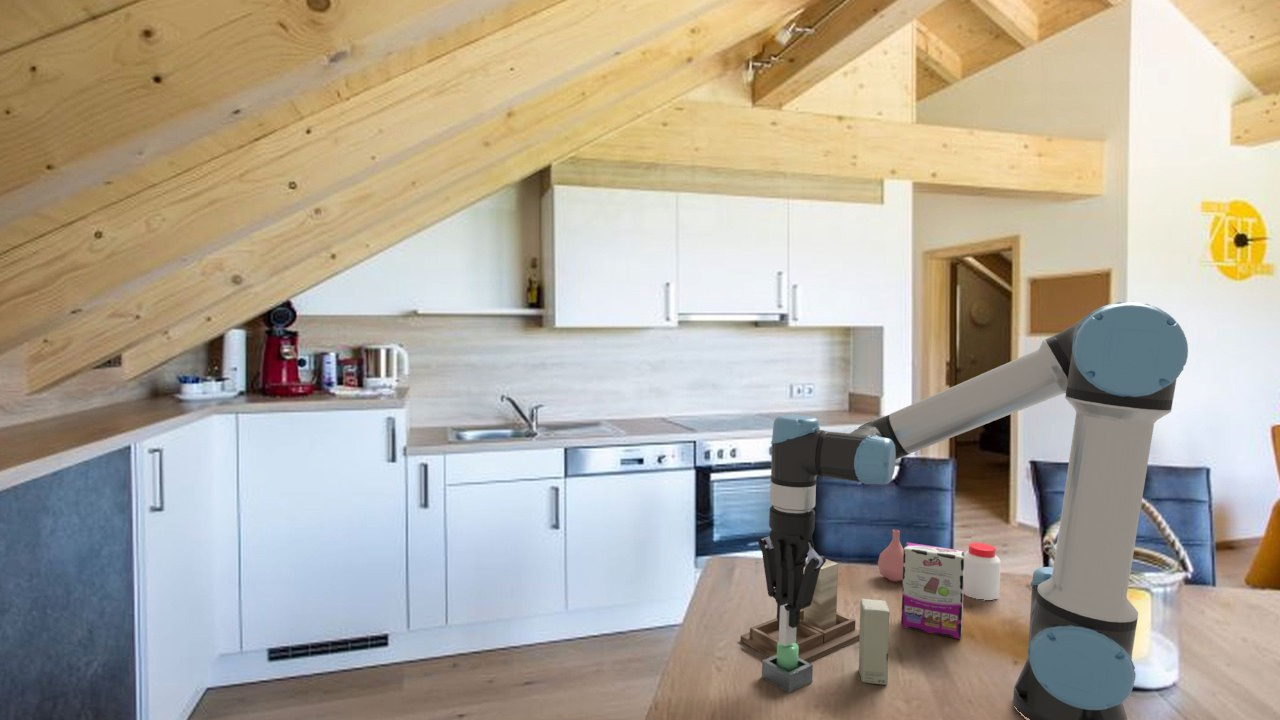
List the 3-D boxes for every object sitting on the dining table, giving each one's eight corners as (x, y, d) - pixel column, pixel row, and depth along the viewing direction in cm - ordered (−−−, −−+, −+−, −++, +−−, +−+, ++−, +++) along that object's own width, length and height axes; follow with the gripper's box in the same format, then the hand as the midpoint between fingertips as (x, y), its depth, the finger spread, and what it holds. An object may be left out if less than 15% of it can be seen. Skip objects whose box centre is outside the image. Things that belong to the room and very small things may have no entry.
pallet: (864, 637, 131) (867, 567, 130) (793, 669, 119) (796, 592, 118) (810, 613, 142) (813, 548, 141) (740, 640, 129) (742, 569, 128)
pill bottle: (953, 590, 155) (955, 543, 155) (976, 584, 159) (979, 539, 158) (983, 603, 148) (985, 554, 148) (1006, 597, 152) (1009, 549, 151)
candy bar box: (962, 630, 135) (966, 550, 134) (961, 640, 131) (965, 558, 130) (902, 617, 140) (906, 540, 139) (900, 627, 136) (903, 547, 135)
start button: (802, 669, 115) (803, 646, 115) (788, 676, 113) (789, 653, 112) (786, 660, 118) (786, 638, 117) (772, 667, 116) (772, 644, 115)
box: (888, 686, 114) (891, 612, 113) (861, 683, 115) (863, 609, 114) (883, 670, 119) (886, 599, 118) (857, 667, 120) (860, 597, 119)
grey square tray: (812, 681, 115) (812, 664, 115) (788, 693, 111) (789, 675, 111) (784, 667, 119) (785, 650, 119) (761, 677, 116) (762, 660, 116)
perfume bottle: (879, 584, 158) (881, 534, 157) (875, 572, 165) (877, 524, 165) (914, 587, 156) (916, 537, 156) (908, 575, 164) (910, 527, 163)
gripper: (838, 512, 110) (832, 652, 112) (777, 495, 121) (773, 622, 122) (808, 520, 106) (803, 665, 107) (748, 501, 116) (744, 633, 118)
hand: (787, 642), depth 115 cm, fingers closed
